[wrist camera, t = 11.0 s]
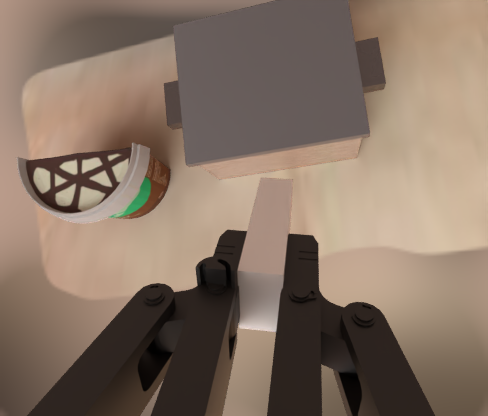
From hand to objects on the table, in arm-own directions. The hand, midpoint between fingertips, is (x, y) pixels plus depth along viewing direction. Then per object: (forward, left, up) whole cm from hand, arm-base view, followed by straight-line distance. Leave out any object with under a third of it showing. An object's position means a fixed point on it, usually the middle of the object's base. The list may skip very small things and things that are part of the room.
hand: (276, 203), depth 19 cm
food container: (+19, +1, -20) cm, 28 cm away
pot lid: (+5, -11, -12) cm, 17 cm away
